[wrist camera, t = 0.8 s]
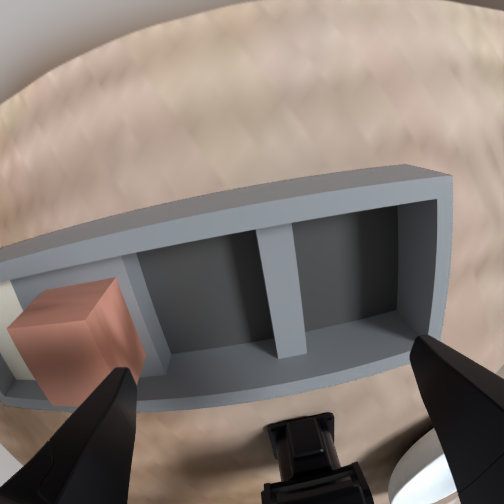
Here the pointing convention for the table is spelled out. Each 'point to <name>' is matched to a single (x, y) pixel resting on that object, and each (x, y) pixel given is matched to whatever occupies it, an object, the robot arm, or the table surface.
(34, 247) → the compartment box
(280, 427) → the robot arm
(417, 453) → the serving bowl
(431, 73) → the table surface
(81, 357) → the block
